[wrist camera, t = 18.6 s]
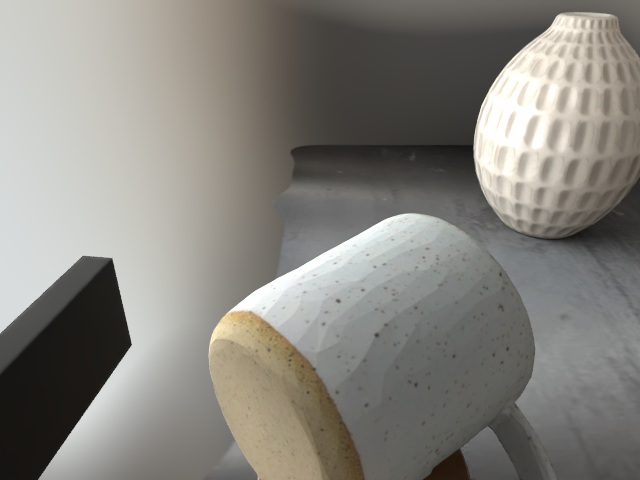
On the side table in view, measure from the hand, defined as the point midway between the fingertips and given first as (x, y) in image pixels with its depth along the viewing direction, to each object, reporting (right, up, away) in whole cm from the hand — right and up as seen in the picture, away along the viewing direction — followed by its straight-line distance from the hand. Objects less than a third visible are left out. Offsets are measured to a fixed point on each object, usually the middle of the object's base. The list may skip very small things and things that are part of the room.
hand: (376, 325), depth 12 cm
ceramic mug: (+1, -6, +6) cm, 8 cm away
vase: (+18, +3, +32) cm, 37 cm away
